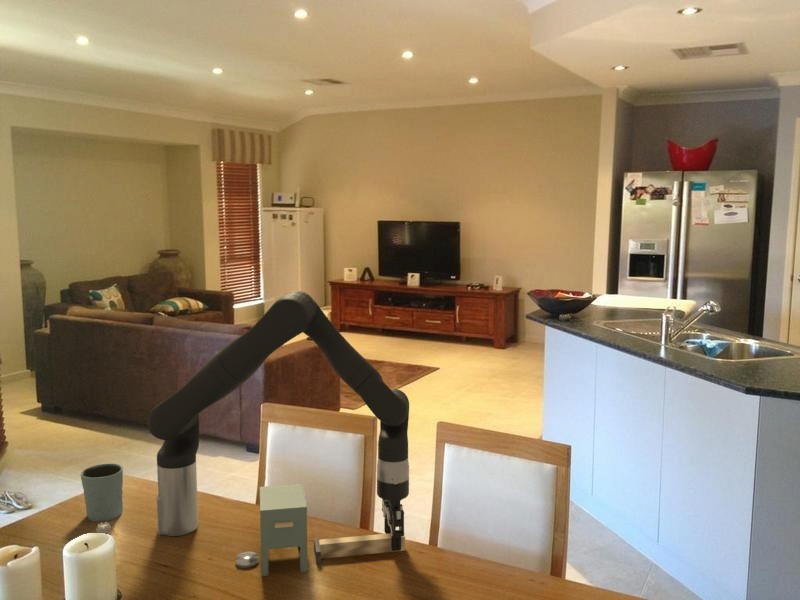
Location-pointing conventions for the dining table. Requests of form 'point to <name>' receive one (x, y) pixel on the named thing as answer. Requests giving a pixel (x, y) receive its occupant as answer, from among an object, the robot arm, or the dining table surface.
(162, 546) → the dining table surface
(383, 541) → the beige bar
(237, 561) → the steel token
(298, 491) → the cabinet
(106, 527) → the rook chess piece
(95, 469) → the grey green cup
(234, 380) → the robot arm
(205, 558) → the dining table surface
